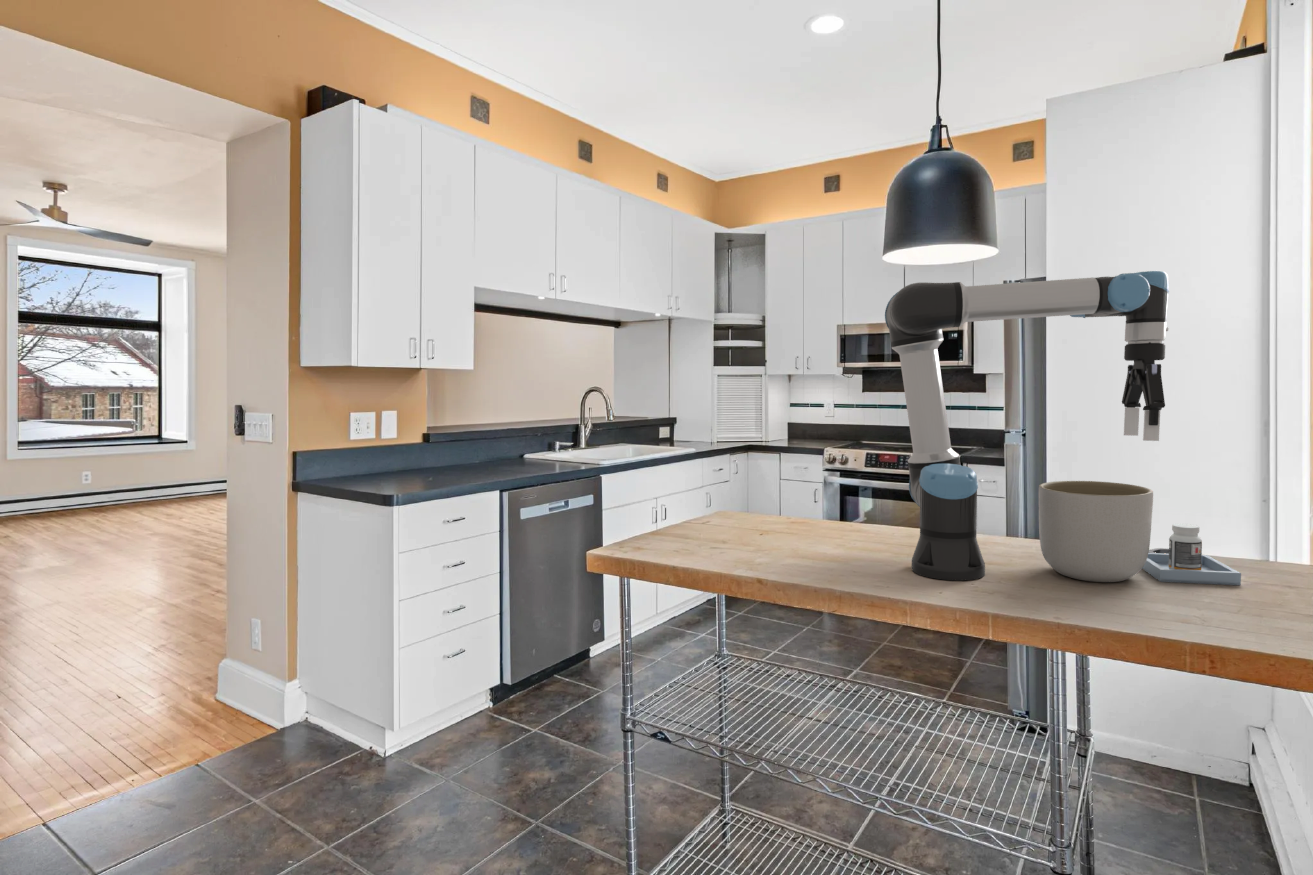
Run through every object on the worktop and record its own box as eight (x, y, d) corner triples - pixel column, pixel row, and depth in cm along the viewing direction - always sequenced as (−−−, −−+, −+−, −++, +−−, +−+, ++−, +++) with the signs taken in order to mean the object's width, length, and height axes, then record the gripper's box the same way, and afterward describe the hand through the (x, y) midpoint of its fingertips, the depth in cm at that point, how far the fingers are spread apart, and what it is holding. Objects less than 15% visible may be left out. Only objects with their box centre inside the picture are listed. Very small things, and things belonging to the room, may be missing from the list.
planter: (1133, 565, 162) (1136, 481, 160) (1164, 592, 142) (1168, 497, 140) (1030, 560, 168) (1031, 479, 167) (1046, 585, 149) (1048, 494, 147)
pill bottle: (1208, 573, 153) (1209, 527, 152) (1187, 576, 151) (1188, 529, 150) (1181, 566, 158) (1183, 522, 157) (1161, 569, 157) (1163, 524, 156)
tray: (1160, 581, 149) (1160, 569, 149) (1134, 563, 164) (1134, 552, 163) (1240, 585, 145) (1241, 573, 145) (1206, 566, 160) (1207, 555, 160)
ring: (1158, 563, 163) (1158, 557, 163) (1142, 552, 173) (1142, 547, 173) (1210, 565, 160) (1210, 559, 160) (1190, 554, 170) (1191, 549, 170)
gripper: (1186, 339, 148) (1181, 443, 149) (1145, 344, 171) (1141, 433, 173) (1144, 340, 150) (1139, 442, 152) (1109, 345, 174) (1105, 433, 175)
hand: (1140, 438), depth 162 cm, fingers open, 13 cm apart
